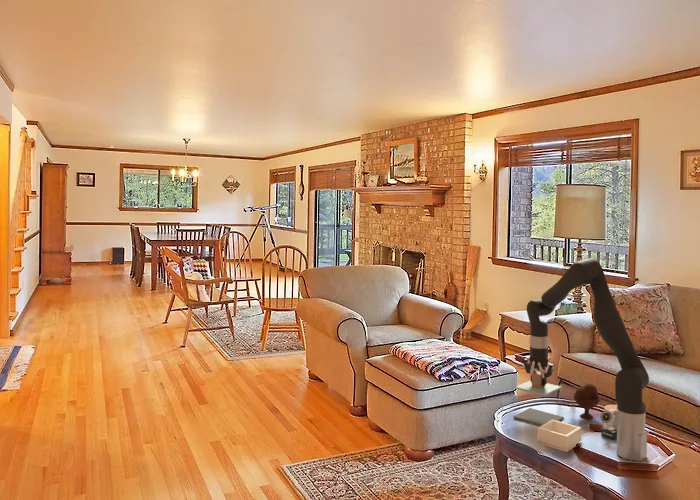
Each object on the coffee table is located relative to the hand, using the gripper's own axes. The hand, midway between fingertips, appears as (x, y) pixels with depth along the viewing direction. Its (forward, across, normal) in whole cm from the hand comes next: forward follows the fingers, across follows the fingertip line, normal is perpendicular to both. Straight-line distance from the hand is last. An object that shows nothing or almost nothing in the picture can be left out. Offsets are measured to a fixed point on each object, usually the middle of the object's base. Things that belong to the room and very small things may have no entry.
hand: (538, 384), depth 247 cm
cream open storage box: (+15, -18, +17) cm, 29 cm away
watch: (+15, -30, -2) cm, 34 cm away
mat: (+15, 0, 0) cm, 15 cm away
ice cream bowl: (+15, -14, -16) cm, 26 cm away
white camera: (+15, -28, -14) cm, 35 cm away
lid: (+2, 0, 0) cm, 2 cm away
